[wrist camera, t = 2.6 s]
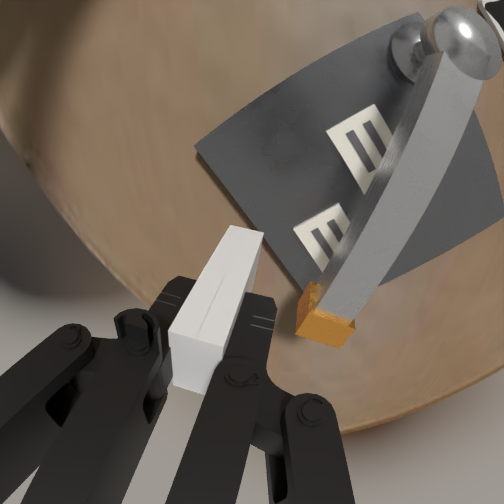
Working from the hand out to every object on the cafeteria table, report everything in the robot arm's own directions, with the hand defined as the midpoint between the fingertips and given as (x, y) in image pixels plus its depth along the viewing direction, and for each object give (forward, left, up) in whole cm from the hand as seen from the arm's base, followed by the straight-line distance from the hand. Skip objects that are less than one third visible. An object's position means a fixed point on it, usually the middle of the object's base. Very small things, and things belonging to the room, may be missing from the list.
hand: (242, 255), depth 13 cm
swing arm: (+2, +8, -5) cm, 10 cm away
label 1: (+7, +2, -9) cm, 12 cm away
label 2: (+1, +8, -9) cm, 12 cm away
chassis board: (+3, +7, -11) cm, 13 cm away
